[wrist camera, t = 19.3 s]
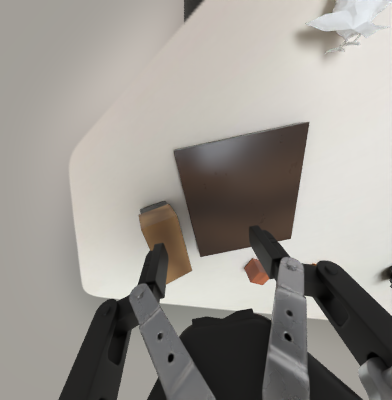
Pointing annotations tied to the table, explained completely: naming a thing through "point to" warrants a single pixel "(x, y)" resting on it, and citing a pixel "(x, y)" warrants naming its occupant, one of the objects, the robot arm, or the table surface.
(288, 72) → the table surface
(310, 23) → the white bird figurine
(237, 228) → the tray
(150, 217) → the brush
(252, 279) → the reddish brown block
